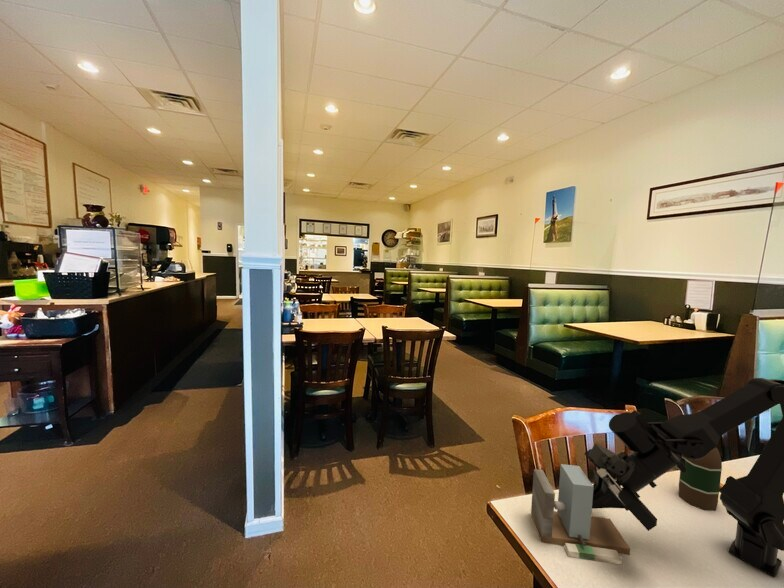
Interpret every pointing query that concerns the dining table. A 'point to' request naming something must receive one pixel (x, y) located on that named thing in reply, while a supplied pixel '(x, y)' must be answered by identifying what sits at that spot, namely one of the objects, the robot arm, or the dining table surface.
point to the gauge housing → (551, 530)
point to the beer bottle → (701, 480)
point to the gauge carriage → (575, 502)
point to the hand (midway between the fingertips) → (584, 506)
